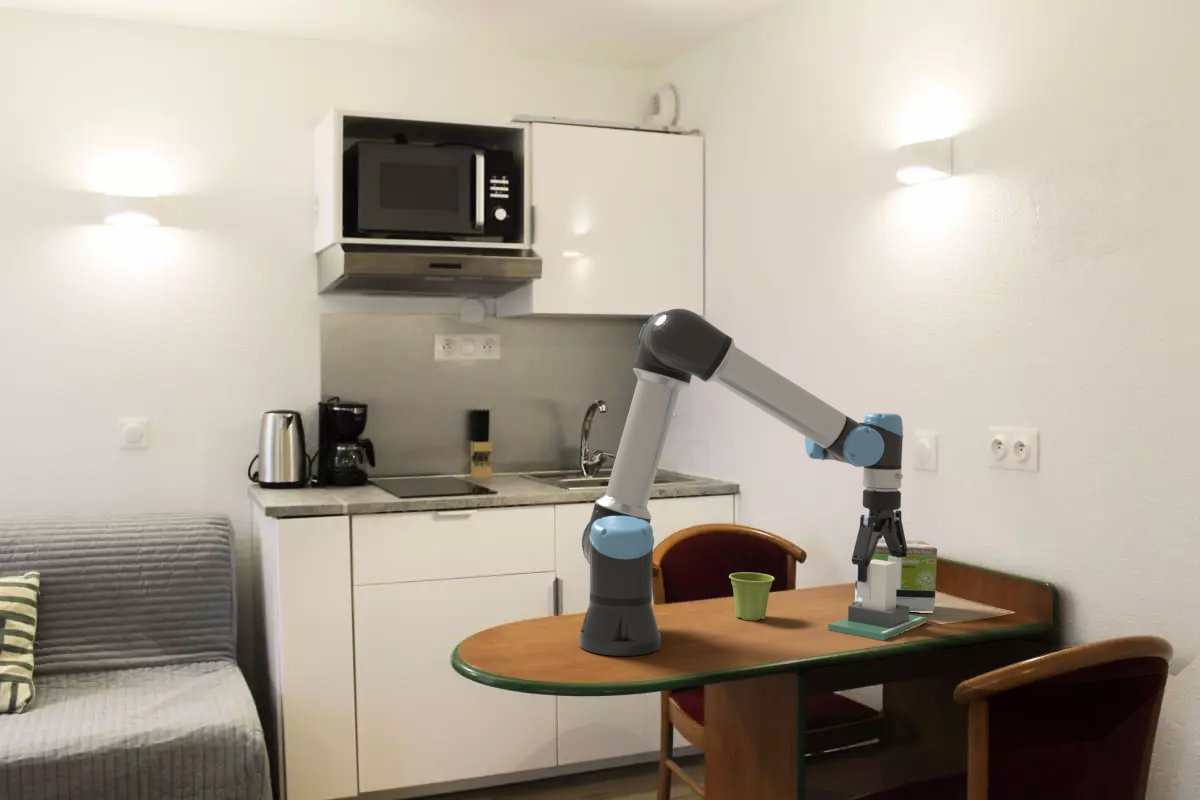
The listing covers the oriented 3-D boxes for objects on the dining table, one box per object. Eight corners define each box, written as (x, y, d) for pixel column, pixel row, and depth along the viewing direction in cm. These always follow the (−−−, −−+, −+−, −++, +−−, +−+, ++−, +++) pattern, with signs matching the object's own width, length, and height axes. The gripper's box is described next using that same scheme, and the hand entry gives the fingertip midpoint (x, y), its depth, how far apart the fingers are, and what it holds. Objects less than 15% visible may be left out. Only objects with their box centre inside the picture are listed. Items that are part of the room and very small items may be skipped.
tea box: (867, 613, 226) (868, 545, 225) (854, 603, 236) (855, 538, 235) (936, 614, 226) (938, 546, 226) (920, 604, 236) (922, 539, 236)
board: (883, 640, 202) (884, 619, 202) (828, 630, 210) (828, 609, 210) (927, 623, 218) (927, 603, 217) (873, 613, 225) (874, 594, 225)
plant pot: (771, 613, 224) (772, 573, 224) (774, 623, 215) (775, 581, 215) (727, 611, 225) (728, 571, 225) (728, 622, 216) (729, 580, 215)
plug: (884, 625, 210) (886, 565, 210) (858, 620, 214) (859, 561, 214) (895, 620, 214) (897, 562, 214) (869, 616, 218) (870, 558, 218)
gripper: (871, 495, 201) (868, 605, 202) (925, 486, 220) (922, 586, 221) (835, 492, 206) (833, 599, 207) (891, 483, 225) (889, 581, 226)
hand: (879, 593), depth 214 cm, fingers open, 13 cm apart
